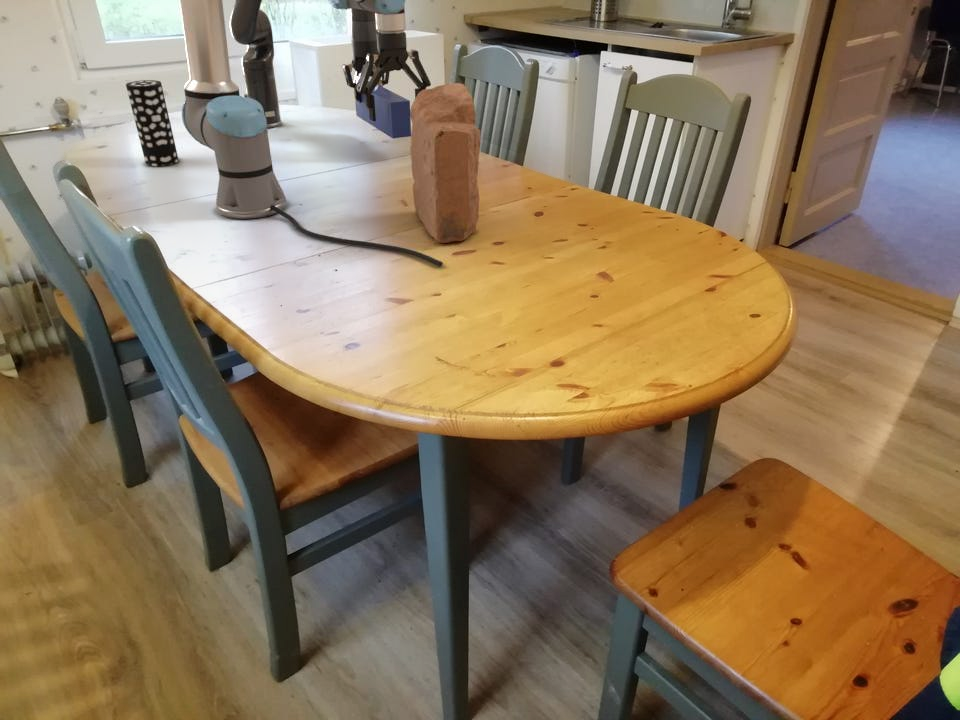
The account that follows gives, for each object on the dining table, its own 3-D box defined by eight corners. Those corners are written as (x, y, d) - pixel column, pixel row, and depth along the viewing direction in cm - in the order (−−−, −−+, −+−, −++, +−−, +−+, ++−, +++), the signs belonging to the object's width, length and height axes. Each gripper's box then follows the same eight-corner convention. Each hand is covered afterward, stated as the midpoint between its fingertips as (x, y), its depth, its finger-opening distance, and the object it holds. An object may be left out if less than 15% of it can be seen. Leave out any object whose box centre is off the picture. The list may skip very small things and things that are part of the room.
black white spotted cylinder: (184, 157, 190) (167, 80, 179) (169, 166, 183) (151, 87, 172) (155, 156, 190) (136, 79, 179) (139, 165, 183) (119, 86, 172)
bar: (411, 136, 187) (409, 100, 182) (392, 138, 185) (390, 102, 180) (373, 113, 208) (371, 81, 203) (356, 115, 205) (353, 82, 200)
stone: (490, 240, 143) (490, 97, 128) (437, 246, 140) (432, 100, 125) (459, 208, 160) (457, 80, 146) (412, 214, 157) (405, 83, 143)
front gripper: (429, 26, 183) (431, 109, 195) (339, 32, 173) (347, 119, 185) (441, 30, 178) (443, 114, 189) (349, 36, 167) (357, 126, 179)
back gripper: (383, 34, 197) (387, 96, 207) (335, 37, 191) (341, 100, 201) (393, 38, 192) (396, 101, 201) (344, 41, 186) (349, 106, 195)
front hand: (396, 117), depth 187 cm, fingers open, 13 cm apart
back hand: (369, 100), depth 201 cm, fingers closed on bar, 5 cm apart
